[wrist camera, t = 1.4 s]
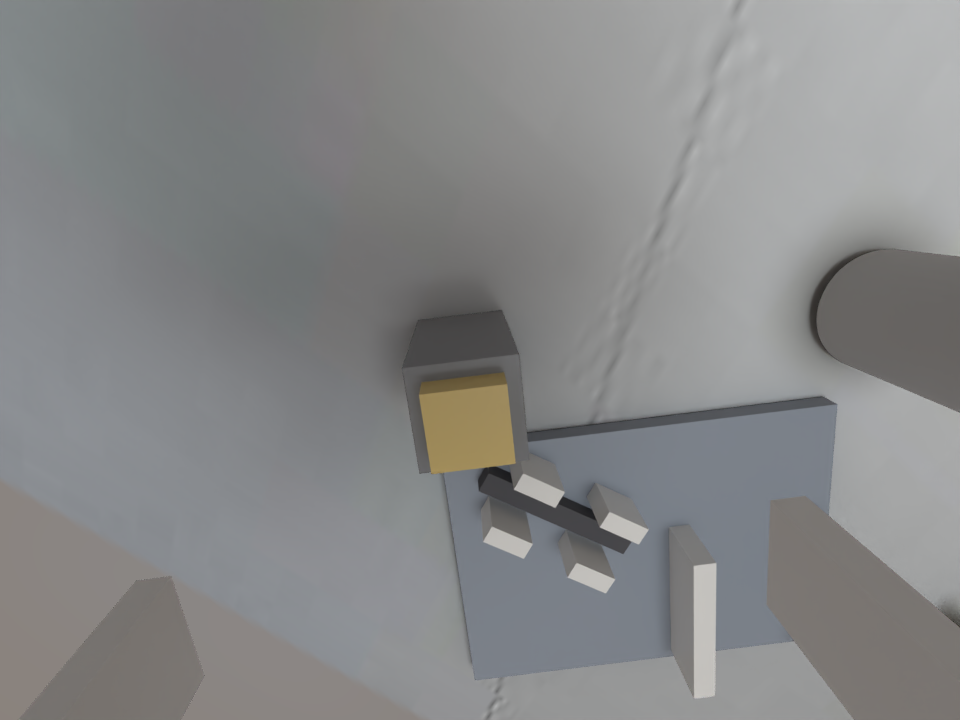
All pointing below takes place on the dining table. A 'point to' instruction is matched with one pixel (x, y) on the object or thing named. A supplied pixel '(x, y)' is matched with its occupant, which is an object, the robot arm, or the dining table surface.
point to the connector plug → (465, 393)
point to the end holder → (693, 609)
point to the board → (665, 497)
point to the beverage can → (897, 320)
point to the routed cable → (550, 509)
